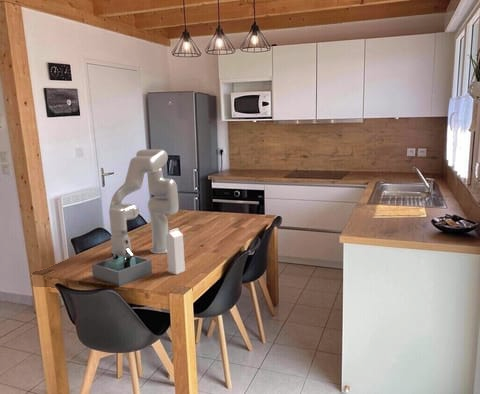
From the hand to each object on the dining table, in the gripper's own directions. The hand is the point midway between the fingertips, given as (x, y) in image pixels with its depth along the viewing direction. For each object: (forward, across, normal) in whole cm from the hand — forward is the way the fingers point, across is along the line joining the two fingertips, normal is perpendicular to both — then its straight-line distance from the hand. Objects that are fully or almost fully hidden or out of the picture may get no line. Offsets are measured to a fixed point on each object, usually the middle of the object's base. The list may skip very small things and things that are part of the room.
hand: (122, 267), depth 206 cm
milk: (+4, -19, -18) cm, 26 cm away
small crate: (+1, 0, 0) cm, 1 cm away
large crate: (+4, 0, 0) cm, 4 cm away
